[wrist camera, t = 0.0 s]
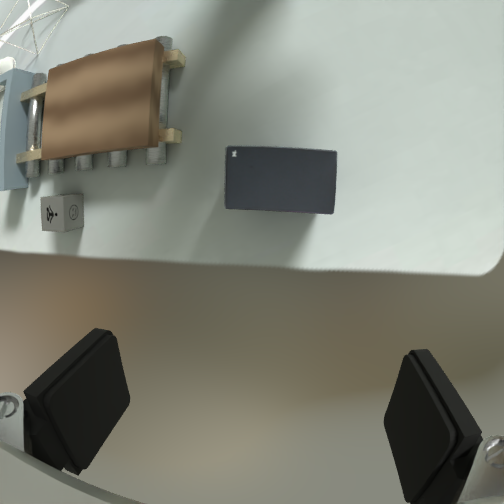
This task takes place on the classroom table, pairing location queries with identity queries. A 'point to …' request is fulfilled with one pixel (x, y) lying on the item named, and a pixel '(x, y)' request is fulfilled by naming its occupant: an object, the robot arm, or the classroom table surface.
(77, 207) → the dice cube
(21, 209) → the classroom table surface
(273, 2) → the classroom table surface
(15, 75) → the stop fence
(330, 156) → the small box
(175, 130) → the roller bed
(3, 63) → the vase
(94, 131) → the slab
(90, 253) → the classroom table surface
